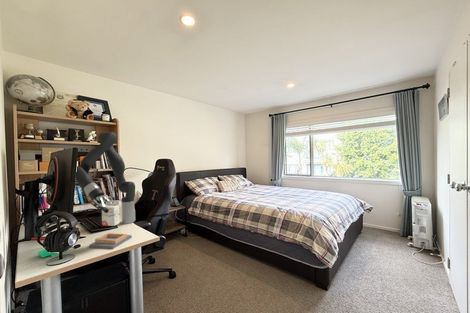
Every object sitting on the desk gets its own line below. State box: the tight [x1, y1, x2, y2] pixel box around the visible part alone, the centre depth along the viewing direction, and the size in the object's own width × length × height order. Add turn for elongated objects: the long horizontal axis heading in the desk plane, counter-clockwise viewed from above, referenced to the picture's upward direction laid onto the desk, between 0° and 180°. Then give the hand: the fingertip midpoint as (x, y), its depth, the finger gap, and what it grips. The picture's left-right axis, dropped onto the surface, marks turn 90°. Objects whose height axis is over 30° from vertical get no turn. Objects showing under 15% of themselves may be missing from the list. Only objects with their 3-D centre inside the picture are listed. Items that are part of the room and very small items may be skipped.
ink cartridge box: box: [101, 200, 120, 227], centre depth 127 cm, size 9×5×15 cm, turn 84°
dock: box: [89, 232, 133, 249], centre depth 127 cm, size 16×16×4 cm
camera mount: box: [37, 248, 59, 258], centre depth 115 cm, size 12×8×10 cm, turn 149°
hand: (111, 210), depth 127 cm, fingers closed on ink cartridge box, 5 cm apart
